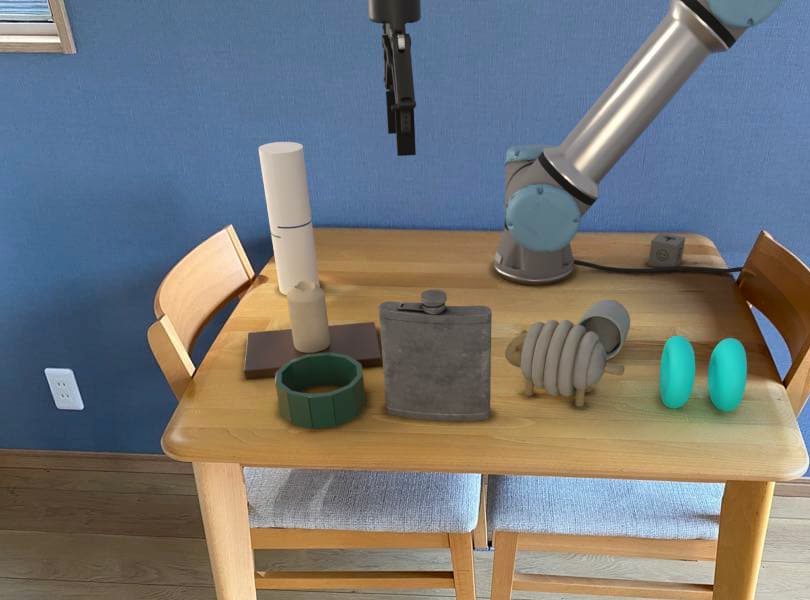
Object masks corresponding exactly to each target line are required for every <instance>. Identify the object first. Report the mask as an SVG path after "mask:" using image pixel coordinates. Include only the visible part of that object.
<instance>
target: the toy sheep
mask: <svg viewBox="0 0 810 600" xmlns="http://www.w3.org/2000/svg"><path fill="white" fill-rule="evenodd" d="M574 325H575V326H574ZM504 355H505V356H504V357H505V359H506V361H507V362H508V363H509V364H510V365H512V366H514V367H517V368H520V371H521V374H522V376H523V377H524V378H525V379H524V380H525V381H524V395H525V396H526V397H531V396H533V395H534V391H535V388H536V389H538V390H545V392H546V393H547V394H548V395H549V396H551V397H556V396H559V395H561V396H563V397H565V398H567V397H571V396H572V395H573V394H574V393H575V399H574V405H575V406H576V407H578V408H582V407H583V406H584V405H585V396H586V393H589V392H591V391H592V387H593V386H595V385H596V384H598V382H599V381H600V380H601V379H602V377H603V376H604V374H605V373H606V374H610V375H615V376H619V377H620V376H623V375H624V374H625V373H624V372H625V366H624V365H623V364H619V363H616V362H611V361H608V360H607V357H606V352H605V349H604V347H603V345H602V344H601V343H600V341H599V336H598V335H597V334H596V333H595V332H592V331H590V332H587V331H586V329H585V327H584V326H582V325H576V324H574V323H573V322H572V321H571V320H567V319H565V320H562V321H560V322H559V321H558V320H556V319H549V320H548V321H546V322H543V321H535V322H534V323H533V324H532V325H530V327H529V329H528V330H526V329H522V330H521V331H520V334H519V335H517V336H516V337H514V338H513V339H511V341H510V342H509V343H508V344H507V345H506V348H505V351H504Z"/></svg>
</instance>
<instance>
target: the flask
mask: <svg viewBox="0 0 810 600" xmlns="http://www.w3.org/2000/svg"><path fill="white" fill-rule="evenodd" d="M447 301H448V294H447V292H446V291H444V290H442V289H436V288H435V289H427V290H424V291H422V292H421V293H420V302H410V301H409V302H408V301H407V302H406V301H396V300H395V301H394V300H387V301H383V302H380V304H379V305H378V316H379V329H380V343H381V358H382V366H383V367H382V369H383V382H384V394H385V408H386V412H387V413H388V414H389V415H391V416H397V417H403V418H409V419H415V420H416V419H418V420H427V421H444V422H477V421H478V422H479V421H485V420H488V419H489V418H490V416H491V381H492V380H491V378H492V377H491V375H492V374H491V372H492V369H491V368H492V315H493V314H492V312H493V311H492V308H491V307H489V306H486V305H446V302H447Z"/></svg>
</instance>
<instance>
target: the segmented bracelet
mask: <svg viewBox="0 0 810 600" xmlns="http://www.w3.org/2000/svg"><path fill="white" fill-rule="evenodd" d="M274 382H275V390H276V395H277V403H278V407H279V414H280V416H281V417H283V419H285V420H286V421H288V423H289V424H291V425H293V426H297V427H302V428H305V429H311V430H315V429H324V428H335V427H339V426H341V425H343V424H346V423H348V422H350V421H352V420H354V419H356V418H357V417H358V416H359V415H360V414H361V413H362V411H363V410H364V409H365V408H366V406H367V401H366V390H365V389H366V388H365V380H364V372H363V368H362V364H361V363H359V362H358V361H356V360H355V359H353V358H352V357H350V356H348V355H343V354H337V353H332V352H325V353H315V354H308V355H304V356H301V357H298V358H296V359H293V360H290V361H288V362H287V363H286V364H284V365H283V366H282V367H281V368H280V369H279V370H278V371H277V372H276V376H275V381H274ZM321 386H323V387H324V386H335V387H339V388H338V389H337V388H336V389H335V390H332V391H329V392H317V393H307V392H302V391H305V390H308V389H310V388H313V387H321Z"/></svg>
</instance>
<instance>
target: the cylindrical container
mask: <svg viewBox="0 0 810 600" xmlns="http://www.w3.org/2000/svg"><path fill="white" fill-rule="evenodd" d="M258 155H259V163H260V169H261V176H262V182H263V188H264V196H265V202H266V209H267V216H268V221H269V229H270V236H271V242H272V246H273V247H272V249H273V255H274V261H275V268H276V274H277V281H278V288H279V292H280V293H281V294H283V295H285V296H287V293H288V292H289V291H290V290H291V289H292V288H293V287H294V286H296V285H297V284H298V283H299V282H300V281H304V282H313V283H315V284H316V285H317V286H319V287H320V286H321V285H320V277H319V269H318V262H317V253H316V252H317V251H316V245H315V236H314V227H313V219H312V211H311V203H310V202H311V201H310V193H309V186H308V185H309V184H308V177H307V170H306V168H307V167H306V161H305V151H304V146H303V144H301V143H300V142H299V143H298V142H293V141H274V142H269V143H264V144H262V145H260V146H258ZM320 288H321V287H320Z"/></svg>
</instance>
